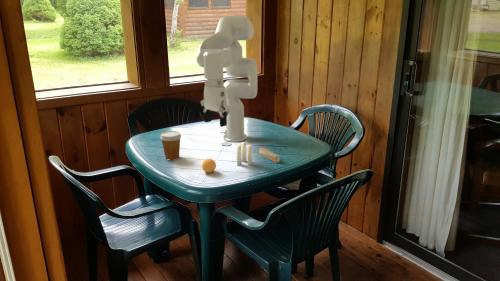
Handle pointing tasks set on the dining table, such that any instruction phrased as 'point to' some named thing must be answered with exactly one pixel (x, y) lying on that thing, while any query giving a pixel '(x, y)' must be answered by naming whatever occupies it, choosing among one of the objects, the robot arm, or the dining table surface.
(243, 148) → the back left pin
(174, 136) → the disposable coffee cup
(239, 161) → the front pin
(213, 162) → the ball
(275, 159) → the back wall
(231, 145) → the dining table surface
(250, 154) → the back right pin
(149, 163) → the dining table surface
